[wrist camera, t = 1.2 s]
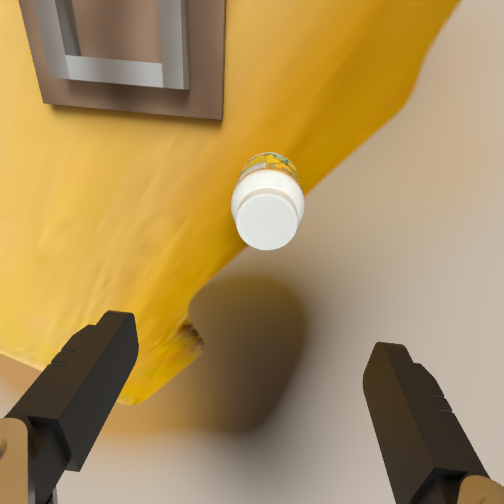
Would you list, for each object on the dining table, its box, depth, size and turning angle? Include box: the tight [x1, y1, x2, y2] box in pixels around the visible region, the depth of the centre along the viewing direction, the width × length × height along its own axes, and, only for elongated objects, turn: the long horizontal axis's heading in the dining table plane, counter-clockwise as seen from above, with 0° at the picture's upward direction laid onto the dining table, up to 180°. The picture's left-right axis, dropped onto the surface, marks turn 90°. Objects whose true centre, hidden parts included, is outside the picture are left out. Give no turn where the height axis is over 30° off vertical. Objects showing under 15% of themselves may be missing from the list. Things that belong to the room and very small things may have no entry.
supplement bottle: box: [231, 152, 305, 250], centre depth 23 cm, size 6×5×10 cm
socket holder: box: [19, 0, 226, 120], centre depth 21 cm, size 15×14×3 cm
